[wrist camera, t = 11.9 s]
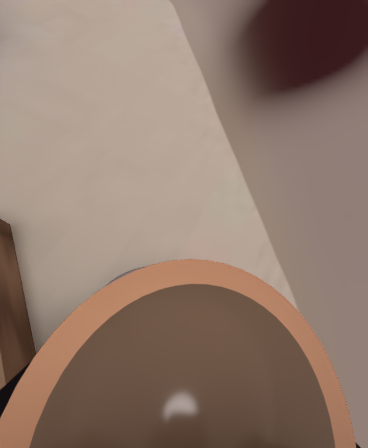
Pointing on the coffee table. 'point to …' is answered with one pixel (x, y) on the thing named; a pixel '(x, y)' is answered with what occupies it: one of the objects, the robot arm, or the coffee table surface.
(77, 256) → the coffee table surface
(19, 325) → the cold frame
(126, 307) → the pot
